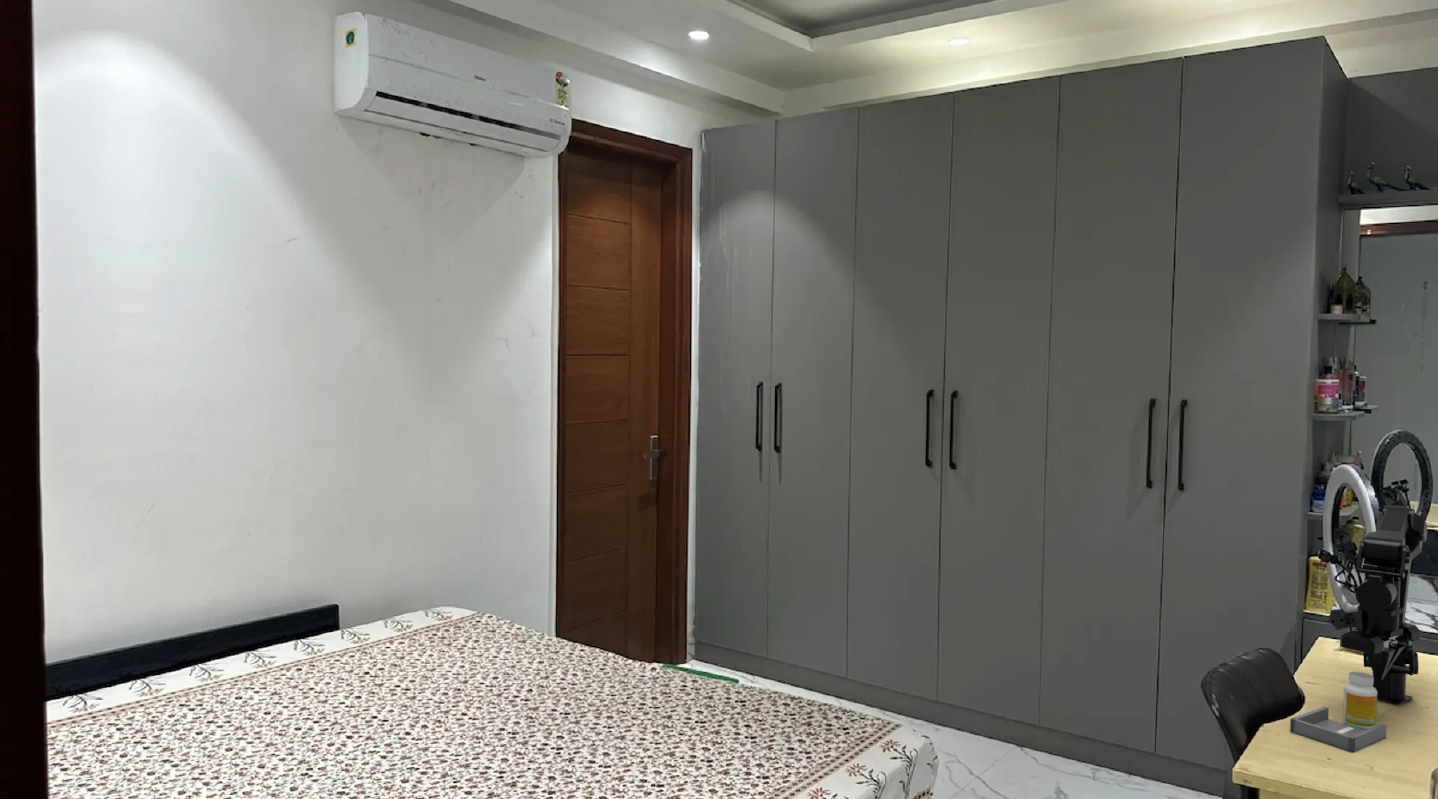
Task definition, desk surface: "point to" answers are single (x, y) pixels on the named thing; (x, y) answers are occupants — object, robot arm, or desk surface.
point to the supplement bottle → (1360, 701)
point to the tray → (1335, 731)
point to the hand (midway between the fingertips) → (1378, 679)
